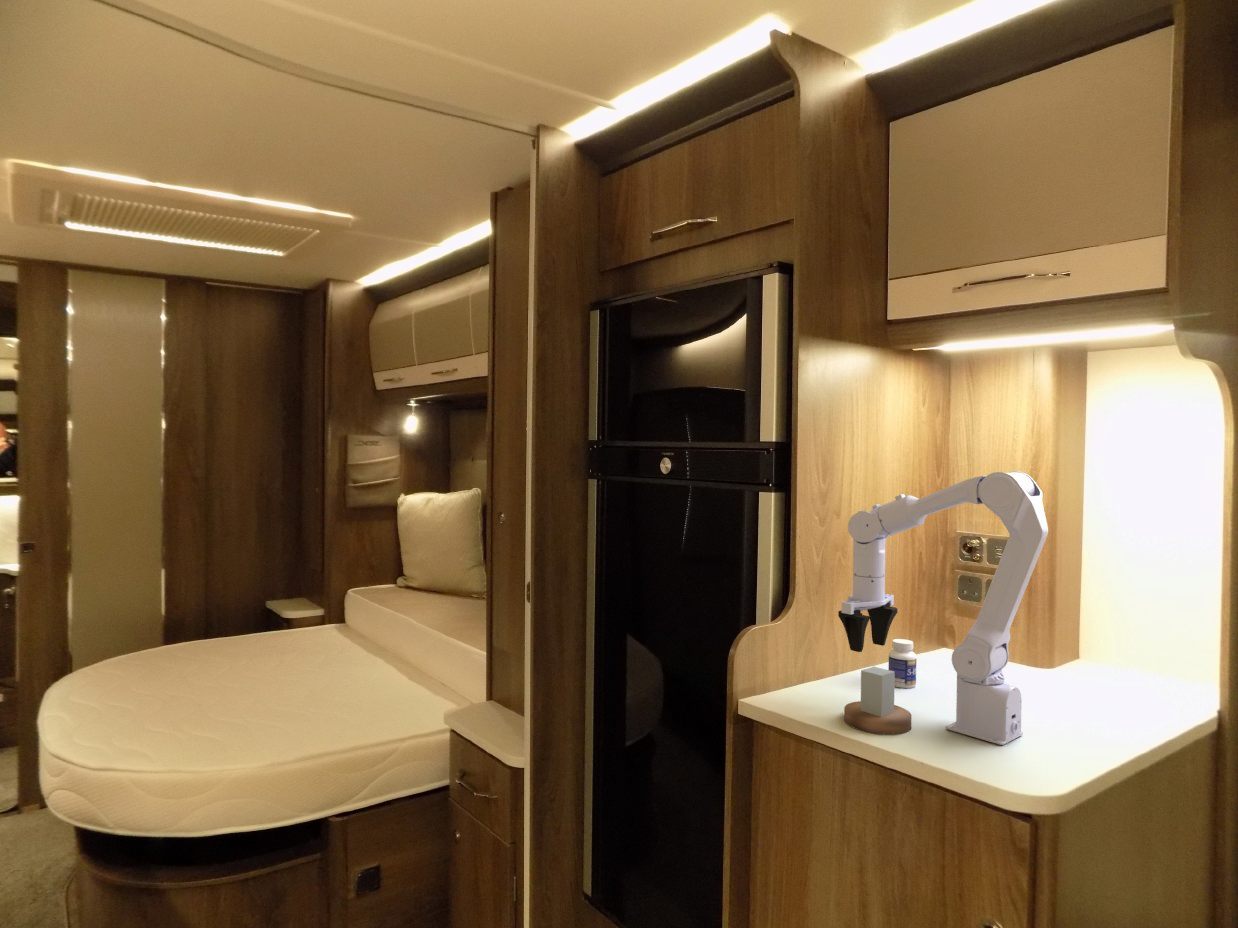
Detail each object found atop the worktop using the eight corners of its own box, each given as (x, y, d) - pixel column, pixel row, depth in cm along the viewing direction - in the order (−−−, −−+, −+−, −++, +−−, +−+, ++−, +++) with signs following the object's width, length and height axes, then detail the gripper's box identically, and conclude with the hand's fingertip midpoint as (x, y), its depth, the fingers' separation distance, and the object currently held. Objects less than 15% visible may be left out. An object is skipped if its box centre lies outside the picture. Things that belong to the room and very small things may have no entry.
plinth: (923, 724, 131) (923, 713, 131) (889, 739, 124) (889, 727, 124) (866, 707, 139) (866, 696, 139) (831, 720, 132) (831, 709, 132)
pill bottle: (911, 690, 150) (912, 645, 150) (884, 685, 153) (885, 641, 153) (919, 684, 154) (919, 640, 154) (893, 679, 157) (893, 636, 157)
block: (894, 711, 131) (894, 671, 131) (881, 716, 129) (882, 675, 128) (873, 705, 134) (873, 666, 134) (860, 710, 132) (861, 670, 132)
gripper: (871, 569, 149) (870, 637, 149) (827, 575, 140) (826, 649, 140) (904, 573, 144) (903, 644, 144) (861, 581, 135) (860, 657, 135)
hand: (867, 647), depth 142 cm, fingers open, 7 cm apart
